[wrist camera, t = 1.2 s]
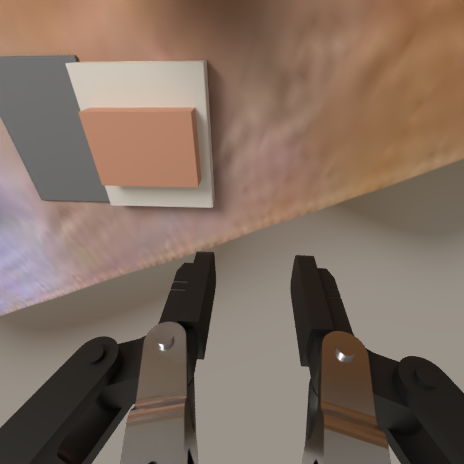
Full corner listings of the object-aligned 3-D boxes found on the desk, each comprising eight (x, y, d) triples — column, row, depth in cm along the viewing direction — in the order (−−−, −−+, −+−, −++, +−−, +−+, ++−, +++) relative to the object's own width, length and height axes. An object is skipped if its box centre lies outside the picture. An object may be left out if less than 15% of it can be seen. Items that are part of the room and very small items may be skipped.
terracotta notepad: (195, 107, 24) (190, 112, 22) (201, 178, 28) (198, 187, 26) (89, 107, 25) (78, 112, 23) (110, 177, 29) (102, 185, 27)
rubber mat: (75, 55, 24) (74, 55, 24) (119, 200, 33) (118, 201, 32) (-26, 57, 25) (-29, 57, 24) (43, 198, 33) (41, 200, 33)
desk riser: (206, 60, 23) (203, 61, 22) (214, 199, 32) (212, 207, 30) (77, 62, 24) (65, 63, 23) (118, 197, 32) (111, 205, 31)
